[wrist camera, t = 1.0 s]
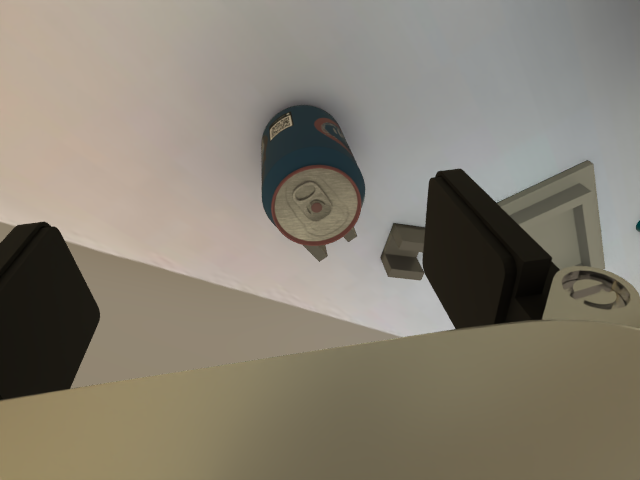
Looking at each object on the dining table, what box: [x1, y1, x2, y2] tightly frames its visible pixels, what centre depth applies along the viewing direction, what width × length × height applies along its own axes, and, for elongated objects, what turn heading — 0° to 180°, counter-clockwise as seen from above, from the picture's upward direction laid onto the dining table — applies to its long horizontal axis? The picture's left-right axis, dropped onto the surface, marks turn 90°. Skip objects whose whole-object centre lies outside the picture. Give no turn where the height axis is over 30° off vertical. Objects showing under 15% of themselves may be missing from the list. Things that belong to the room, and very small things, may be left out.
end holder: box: [497, 160, 605, 270], centre depth 45 cm, size 15×15×3 cm
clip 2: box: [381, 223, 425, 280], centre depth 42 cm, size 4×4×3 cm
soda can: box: [261, 105, 365, 246], centre depth 31 cm, size 7×7×12 cm
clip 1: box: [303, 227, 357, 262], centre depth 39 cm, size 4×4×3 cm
